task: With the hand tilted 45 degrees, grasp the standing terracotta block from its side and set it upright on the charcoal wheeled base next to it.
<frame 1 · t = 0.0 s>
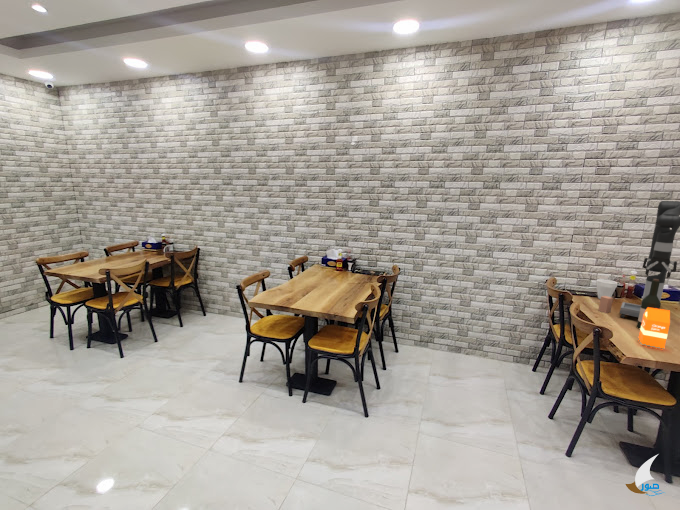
hand: (656, 276, 193), 29 cm above the table, tool pointing down, fingers open, 8 cm apart
wheeled base: (635, 312, 206), point 4 cm above the table, slide at 0.0 cm
orange juice: (650, 344, 171), on the table
wine bottle: (645, 329, 191), on the table
terracotta block: (604, 311, 217), on the table
cup: (603, 299, 242), on the table
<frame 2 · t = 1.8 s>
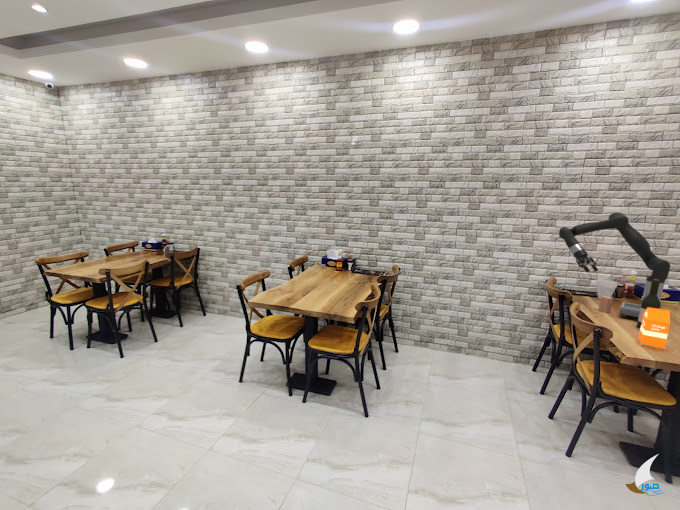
hand: (592, 271, 222), 25 cm above the table, tool tilted 45°, fingers open, 8 cm apart
nothing on the table moved.
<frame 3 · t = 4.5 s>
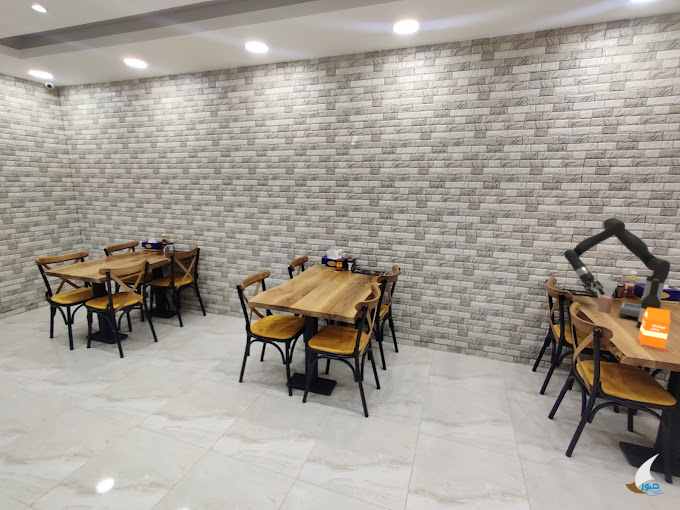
hand: (599, 295, 219), 10 cm above the table, tool tilted 45°, fingers open, 8 cm apart
nothing on the table moved.
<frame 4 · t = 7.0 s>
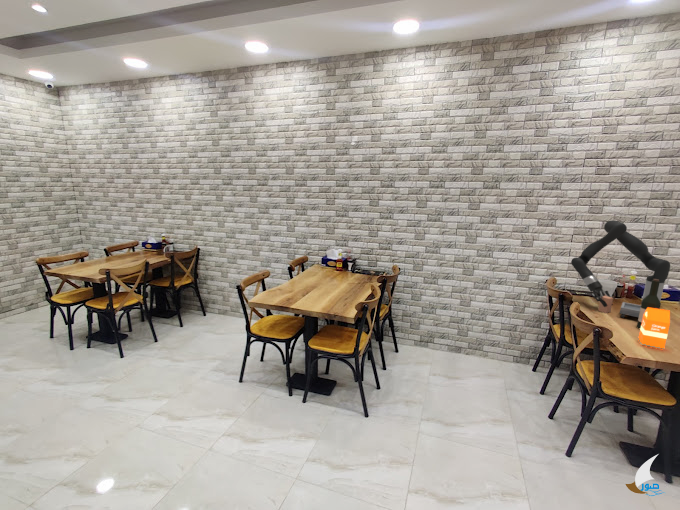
hand: (608, 305, 214), 5 cm above the table, tool tilted 45°, fingers closed on terracotta block, 4 cm apart
terracotta block: (604, 311, 217), on the table, touching gripper
everything else where it was.
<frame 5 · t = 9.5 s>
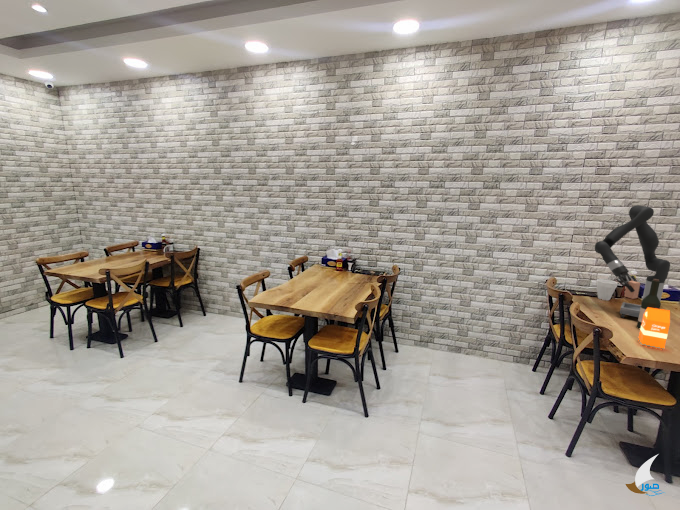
hand: (635, 291, 204), 17 cm above the table, tool tilted 45°, fingers closed on terracotta block, 4 cm apart
terracotta block: (630, 297, 207), point 13 cm above the table, touching gripper
everything else where it was.
when the fingers open (12 cm above the table, at t = 12.1 s): terracotta block drops 1 cm, resting on wheeled base.
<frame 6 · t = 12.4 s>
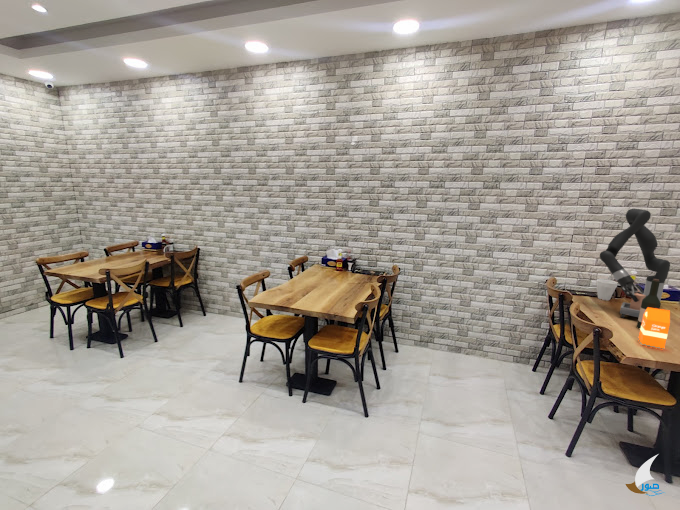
hand: (640, 300, 203), 12 cm above the table, tool tilted 45°, fingers open, 7 cm apart
wheeled base: (635, 312, 206), point 4 cm above the table, slide at 0.0 cm, touching terracotta block
terracotta block: (635, 309, 205), point 5 cm above the table, touching wheeled base
everything else where it was.
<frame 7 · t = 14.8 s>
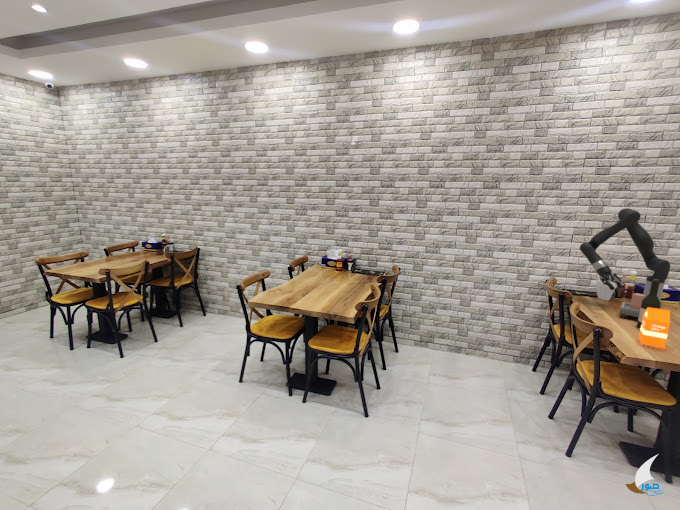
hand: (617, 288, 215), 15 cm above the table, tool tilted 45°, fingers open, 8 cm apart
nothing on the table moved.
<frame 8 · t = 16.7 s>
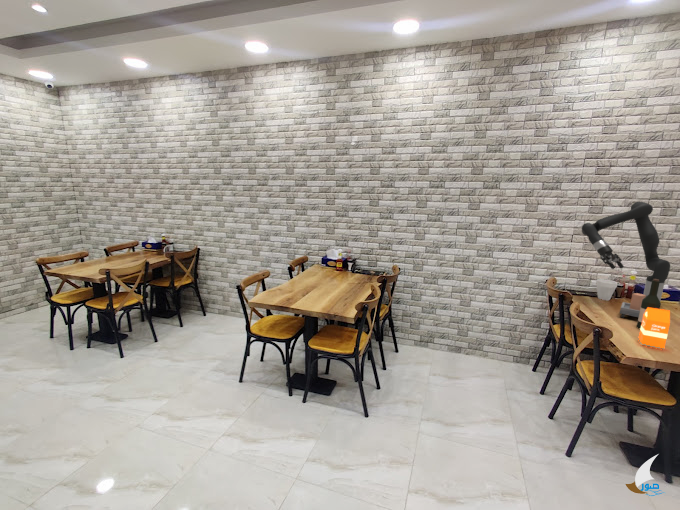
hand: (618, 268, 216), 29 cm above the table, tool tilted 45°, fingers open, 8 cm apart
nothing on the table moved.
at the end: terracotta block inside the target area on the wheeled base (0.0 cm from its centre), point 5.5 cm above the wheeled base's base; terracotta block tilted 0°; the gripper is holding nothing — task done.
